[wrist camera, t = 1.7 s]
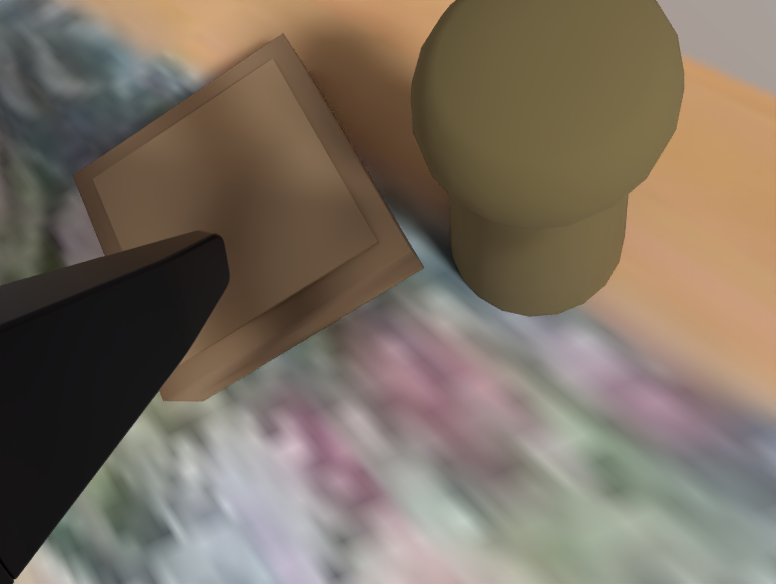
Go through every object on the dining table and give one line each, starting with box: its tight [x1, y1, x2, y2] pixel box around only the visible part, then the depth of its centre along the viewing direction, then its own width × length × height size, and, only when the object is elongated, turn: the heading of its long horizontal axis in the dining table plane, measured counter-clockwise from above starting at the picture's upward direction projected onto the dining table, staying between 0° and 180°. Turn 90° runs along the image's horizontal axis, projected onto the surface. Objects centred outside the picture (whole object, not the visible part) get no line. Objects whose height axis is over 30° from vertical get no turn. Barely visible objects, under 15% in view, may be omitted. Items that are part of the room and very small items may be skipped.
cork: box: [411, 0, 684, 316], centre depth 15 cm, size 6×6×11 cm
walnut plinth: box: [73, 34, 424, 401], centre depth 22 cm, size 10×10×3 cm
